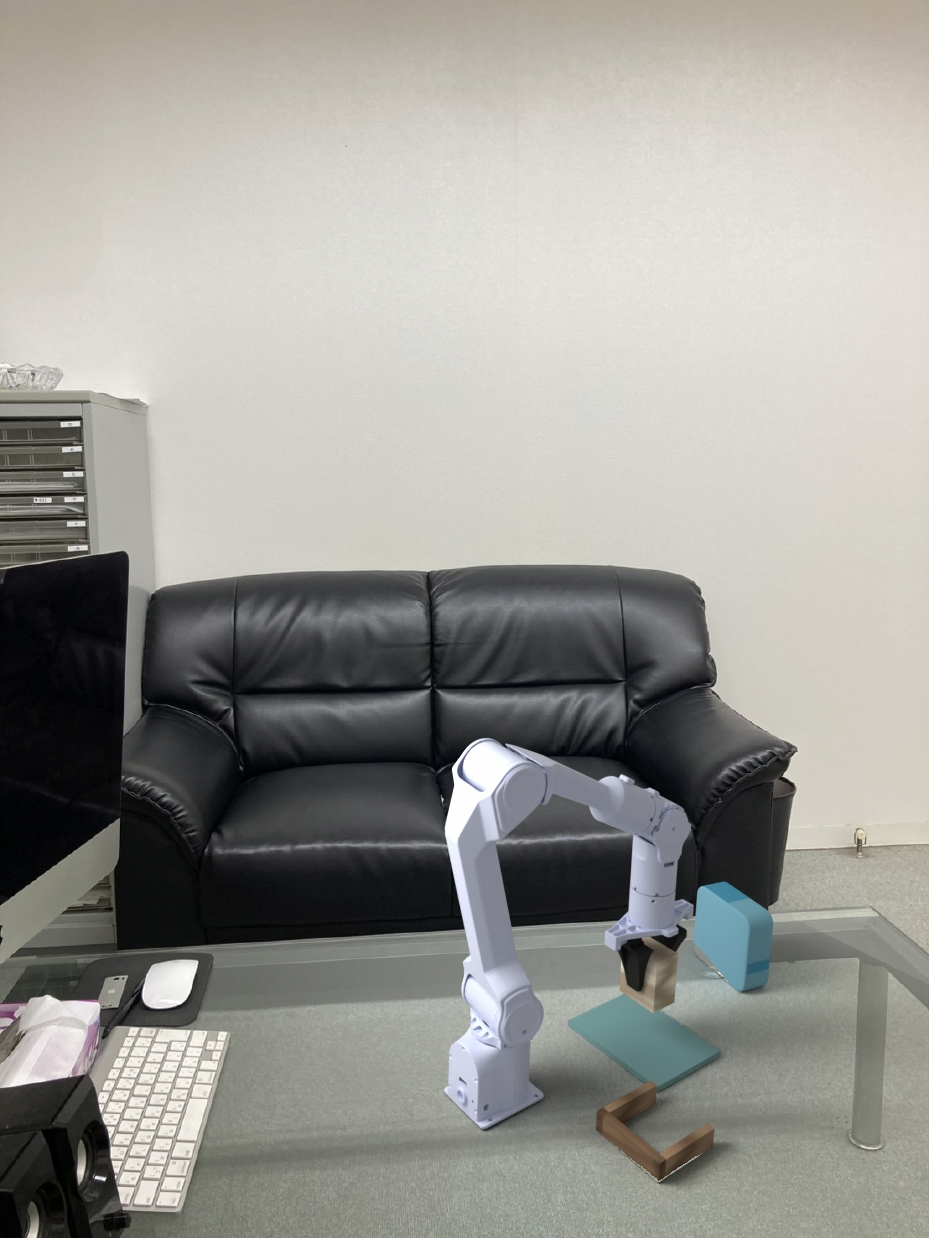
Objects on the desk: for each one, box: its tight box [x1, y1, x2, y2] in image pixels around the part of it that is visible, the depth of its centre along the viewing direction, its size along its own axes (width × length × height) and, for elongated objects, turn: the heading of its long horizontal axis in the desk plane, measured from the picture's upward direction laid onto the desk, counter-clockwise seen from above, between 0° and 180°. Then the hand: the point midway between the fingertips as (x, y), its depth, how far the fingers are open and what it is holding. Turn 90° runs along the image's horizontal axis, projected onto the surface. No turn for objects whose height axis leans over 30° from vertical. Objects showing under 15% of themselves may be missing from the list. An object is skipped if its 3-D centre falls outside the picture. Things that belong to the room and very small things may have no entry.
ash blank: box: [619, 937, 679, 1013], centre depth 122 cm, size 4×6×7 cm, turn 36°
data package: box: [693, 881, 774, 992], centre depth 140 cm, size 12×4×12 cm, turn 23°
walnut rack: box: [595, 1081, 715, 1181], centre depth 107 cm, size 9×10×2 cm
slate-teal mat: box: [567, 993, 721, 1094], centre depth 125 cm, size 12×16×1 cm
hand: (646, 981), depth 123 cm, fingers closed on ash blank, 4 cm apart
